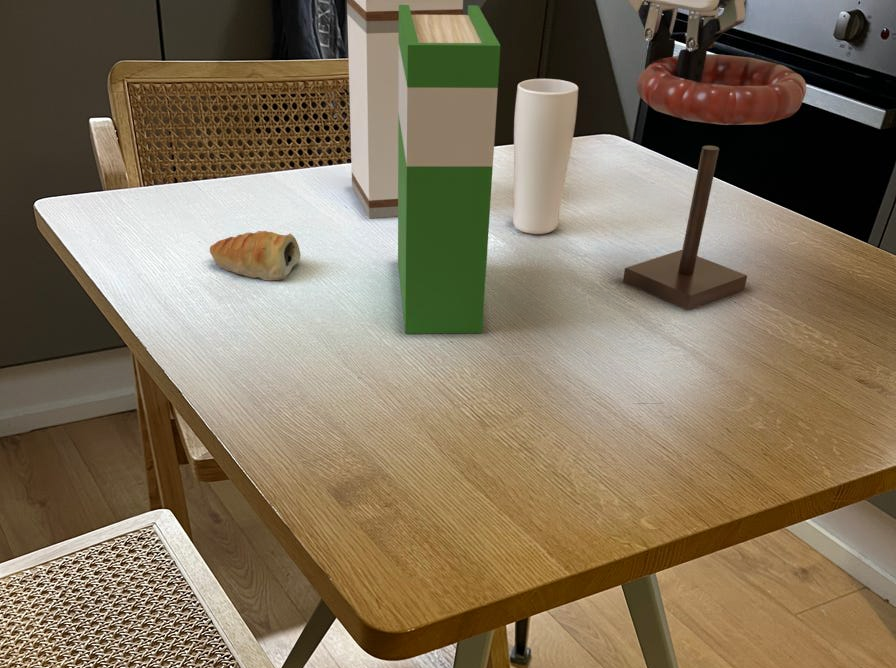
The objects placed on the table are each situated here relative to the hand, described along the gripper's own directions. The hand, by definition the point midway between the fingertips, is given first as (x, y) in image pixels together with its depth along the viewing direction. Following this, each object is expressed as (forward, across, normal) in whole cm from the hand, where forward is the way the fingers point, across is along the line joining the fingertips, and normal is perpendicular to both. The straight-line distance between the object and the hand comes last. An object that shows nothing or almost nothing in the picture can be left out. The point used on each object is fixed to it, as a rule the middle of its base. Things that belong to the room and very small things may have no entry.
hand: (669, 89), depth 94 cm
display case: (+18, +33, +8) cm, 38 cm away
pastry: (+18, +24, +34) cm, 45 cm away
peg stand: (+17, -6, 0) cm, 18 cm away
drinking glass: (+18, +16, +1) cm, 24 cm away
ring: (-1, -6, 0) cm, 6 cm away
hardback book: (+18, +7, +23) cm, 30 cm away
